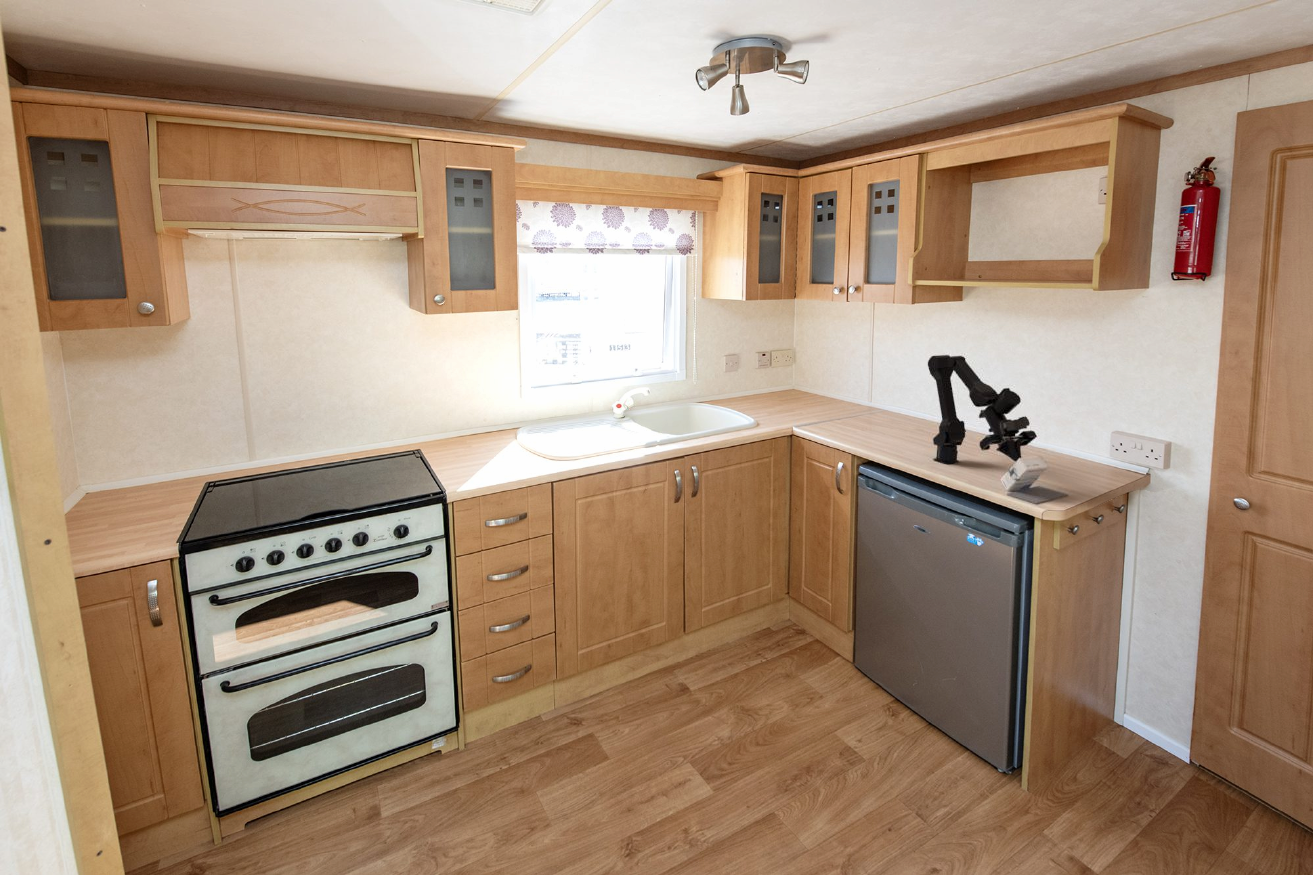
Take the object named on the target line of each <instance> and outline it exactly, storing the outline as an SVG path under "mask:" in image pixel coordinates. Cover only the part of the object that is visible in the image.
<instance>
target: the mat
mask: <svg viewBox="0 0 1313 875" xmlns="http://www.w3.org/2000/svg"><path fill="white" fill-rule="evenodd" d="M1006 496H1009V497H1012V498H1015V499H1019V500H1020V501H1021V500H1022V501H1025V502H1028V503H1031V504H1034V505H1038V504H1042V503H1046V502H1050V501H1053V500H1058V499H1061V498H1064V497H1068V496H1069V494H1067V493H1065V492H1062V491H1057V490H1054V489H1051V488H1047V487H1044V486H1041V485H1037V486H1033V487H1030V488H1028V489H1019V490H1015V491H1012V492H1009V493H1006Z"/></svg>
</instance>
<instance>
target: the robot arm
mask: <svg viewBox="0 0 1313 875" xmlns="http://www.w3.org/2000/svg"><path fill="white" fill-rule="evenodd" d="M927 367H928V370H929V374H930V375H931V377H932V378H933V380H935V383H936V388H937V389H936V390H937V396H938V402H939V408H940V413H941V421H940V424H939V426H938V431H939V432H938V433H937V434H936V435H935V436H934V437H933V438H932V440H933V441H932V442H933V445H934V446H936V456H935V457H934V458H932V460H933V461H935V462H939V463H942V464H945V465H949V464H955V463H959V460H958V452H959V451H958V446H962V444H963V441H964V439H965V437H966V432H967V430H966V428H965V421H964V420H960V419H959V418H958V415H957V411H956V409H957V408H956V404H955V398H954V392H953V391H954V390H953V386H952V380H951V377H952V375H953V373H955V374H956V375H957V377H958V378H959V379H960V380H961V382H962V384H964V386H965V387H966V389H967V390H968V392H969V394H968V397H969V398H970V400H971V403H972V404H973V406H975V407H976V408H982V407H983V408H984V407H985V408H984V409H980V412H979V415H978V418H979V419H984V418H985V421H986V422H987V424H988V426H989V428H988V432H989V433H991V434H987V435H986V436H984V438H983V439H982V440H980V441H979V448H980V450H981V451H988V450H990V449H991V445H997V448H996V451H997V452H1000V453H1001V454H1004V456H1007V457H1008V458H1010V459H1011V460H1013V461H1014V463H1016V461H1017V460H1018V459H1019V458H1022V451H1021V450H1022V449H1021V447H1026V446H1027V445H1028V444H1030V443H1031V442H1033V440H1035V439H1036V438H1038V436H1037V433H1036V432H1035V431H1034V430H1026V429H1027V428H1028V427H1030V421H1029V418H1028V417H1027V416H1026V415H1025V416H1021V417H1018V418H1017V419H1016V418H1015V419H1013V420H1012V419H1010V418H1009V419H1008V418H1007V416H1006V415H1008V414H1009V413H1011V412H1012V411H1013V410H1014V409H1015V408H1016V407H1017V406H1018V405H1020V403H1021V400H1022V399H1021V397H1020V395H1019V394H1018V393H1016V392H1014V391H1013V390H1011V389H1010V388H1009V387H1008V388H1007V387H1005V388H1003V389H1002V390H1001V391H1000V392H999V393H998V392H997V391H996V390H995V389H994V387H992V386H990V385H989V384H987V383H986V382H985V383H984V382H983V381H982V380H981V378H980V377H979V376H978V375H977V374H976V373H975V371H974V370H973V368H972V367H971V366H970V365H969V364H968V362H967V361H966V358H965V356H963V355H953V356H952V355H948V354H941V355H932V356H931V357H930V358H929V360H928V361H927ZM1020 430H1023V431H1021V432H1020ZM992 433H993V434H992ZM1017 434H1018V435H1017Z"/></svg>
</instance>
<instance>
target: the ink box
mask: <svg viewBox="0 0 1313 875" xmlns="http://www.w3.org/2000/svg"><path fill="white" fill-rule="evenodd" d="M1048 469H1049V464H1047V462H1046V460H1045V459H1044V458H1043V456H1041V455H1036V456H1035V455H1034V456H1027V457H1021V458H1019V459H1018V460H1017V461H1016V462H1014V463H1013V465H1012V466H1011V467H1010V468H1009V469H1008V470H1007V471H1006V473H1005V474H1004V475H1003V476H1002V477H1001V478H1000V481H1001V483H1002V485H1003V486H1004V488H1005V490H1006V491H1008V492H1010V491H1020V490H1024V489H1028V488H1032V487H1031V486H1033V485H1034V484H1035V483H1036V481H1037V480H1038V479H1039V478H1040V477H1041V476H1042V475H1043V474H1044V473H1045V472H1046V471H1047V470H1048Z"/></svg>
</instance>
